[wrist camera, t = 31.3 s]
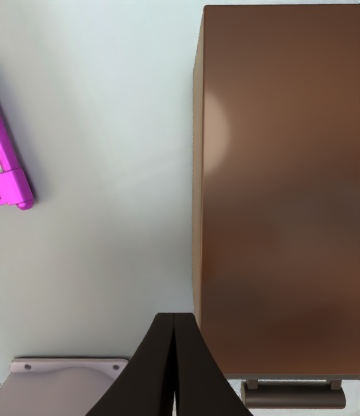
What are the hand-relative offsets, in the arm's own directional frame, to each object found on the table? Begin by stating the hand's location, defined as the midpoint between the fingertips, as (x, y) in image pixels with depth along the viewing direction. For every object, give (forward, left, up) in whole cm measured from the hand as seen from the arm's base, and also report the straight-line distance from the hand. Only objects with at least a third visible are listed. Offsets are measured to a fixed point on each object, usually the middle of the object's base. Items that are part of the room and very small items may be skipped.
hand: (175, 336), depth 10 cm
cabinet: (+7, +4, -10) cm, 13 cm away
